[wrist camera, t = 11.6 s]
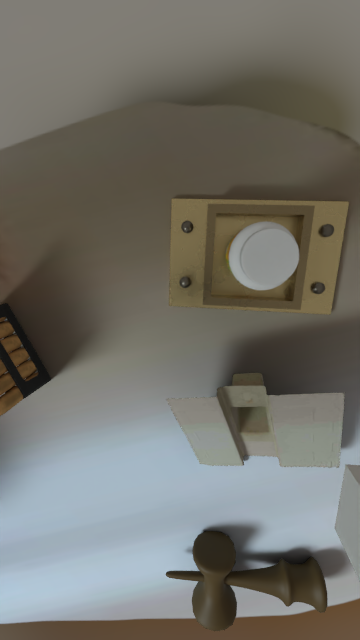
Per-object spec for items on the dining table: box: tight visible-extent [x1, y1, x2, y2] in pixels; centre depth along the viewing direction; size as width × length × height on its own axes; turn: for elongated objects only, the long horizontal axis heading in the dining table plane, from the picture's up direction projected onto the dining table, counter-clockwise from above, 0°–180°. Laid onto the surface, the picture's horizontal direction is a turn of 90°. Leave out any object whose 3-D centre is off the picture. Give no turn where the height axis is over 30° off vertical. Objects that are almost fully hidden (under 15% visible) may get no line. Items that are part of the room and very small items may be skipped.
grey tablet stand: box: [167, 373, 345, 468], centre depth 31 cm, size 16×9×15 cm
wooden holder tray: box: [169, 199, 349, 314], centre depth 29 cm, size 17×11×3 cm, turn 88°
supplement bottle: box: [225, 221, 299, 290], centre depth 25 cm, size 5×5×10 cm
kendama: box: [166, 531, 327, 631], centre depth 37 cm, size 6×10×20 cm
